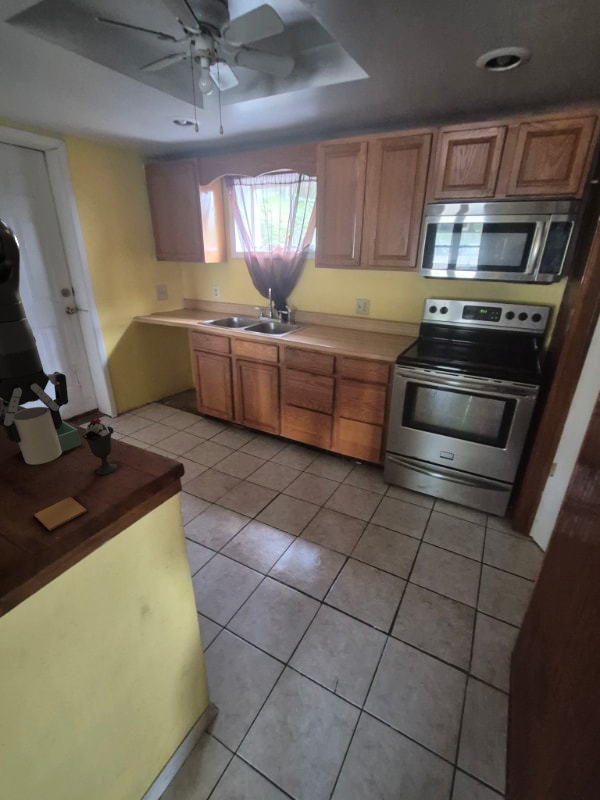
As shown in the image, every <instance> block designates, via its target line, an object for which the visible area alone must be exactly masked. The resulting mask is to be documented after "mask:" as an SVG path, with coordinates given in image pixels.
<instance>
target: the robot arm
mask: <svg viewBox="0 0 600 800" xmlns="http://www.w3.org/2000/svg"><path fill="white" fill-rule="evenodd" d="M20 283H21V247H20V243H19V240H18V238H17V236H16V234H15V232H14V230H13V229H12V228H11V226H10V225H9V224H8V223H7V222H6V221H4V220H3V219H1V218H0V399H1V404H0V426H2V429H3V433H4V435H5V438H6V439H7V440H8V441H9V442H12V443H14V444H16V445H17V444H19V442H21V441H20V438H19V435H18V432H17V429H16V426H15V424H14V423H12V422H13V418H14V414H15V413H16V412H18V407H19V406H24V405H26V404H28V403H34V402H39V401H40V402H41V403H43V404H44V406H45V407H47V408H49V409H50V411H51V415H52V418H53V422H54V425H55V428H56V429H59V428H60V425H62V421H63V419H62V415H61V411H60V408H61V407H62V406H65V405H68V403H69V394H68V384H67V376H66V374H64V373H62V372H59V371H54V372H53V373H48V374H47V373H46V371H44V367H43V364H42V360H41V356H40V353H39V349H38V345H37V339H36V337H35V335H34V332H33V329H32V327H31V324H30V322H29V320H28V317H27V313H26V310H25V307H24V303H23V300H22V296H21V294H20ZM49 382H50V384H51V385H53V388H54V395H55V399H53V398H52V397H51V396H50V395H49V394H48V393H47V392H46V391H45V390H46V389H47V385H49Z"/></svg>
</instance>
